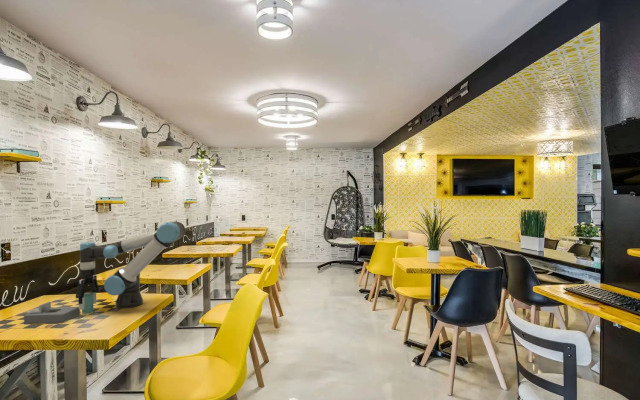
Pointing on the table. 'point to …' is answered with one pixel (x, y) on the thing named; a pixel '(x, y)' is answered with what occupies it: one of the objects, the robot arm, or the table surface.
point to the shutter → (41, 308)
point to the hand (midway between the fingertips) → (87, 306)
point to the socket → (52, 315)
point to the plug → (88, 303)
